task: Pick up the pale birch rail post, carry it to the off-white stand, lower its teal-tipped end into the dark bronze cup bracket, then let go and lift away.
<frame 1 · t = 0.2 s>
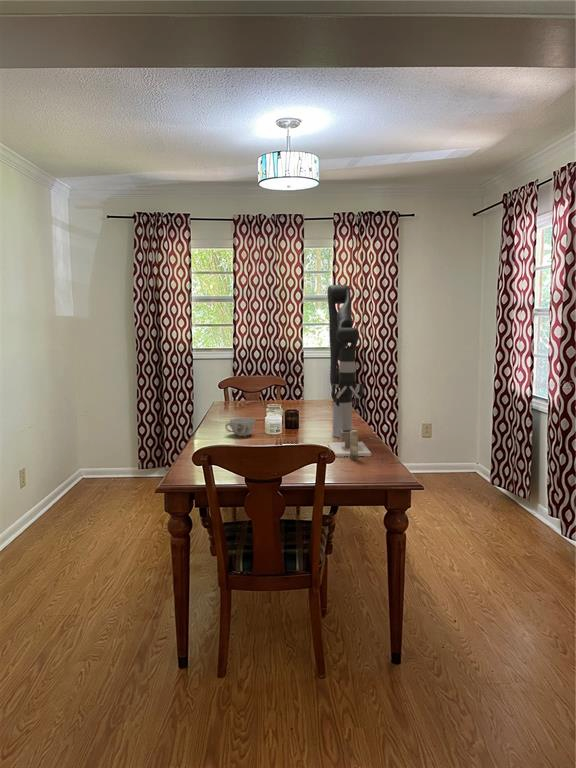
hand: (347, 406, 270), 17 cm above the table, tool pointing down, fingers open, 8 cm apart
teacup: (240, 436, 288), on the table
cup bracket: (348, 450, 257), on the table
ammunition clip: (286, 467, 233), on the table
rail post: (353, 459, 244), on the table
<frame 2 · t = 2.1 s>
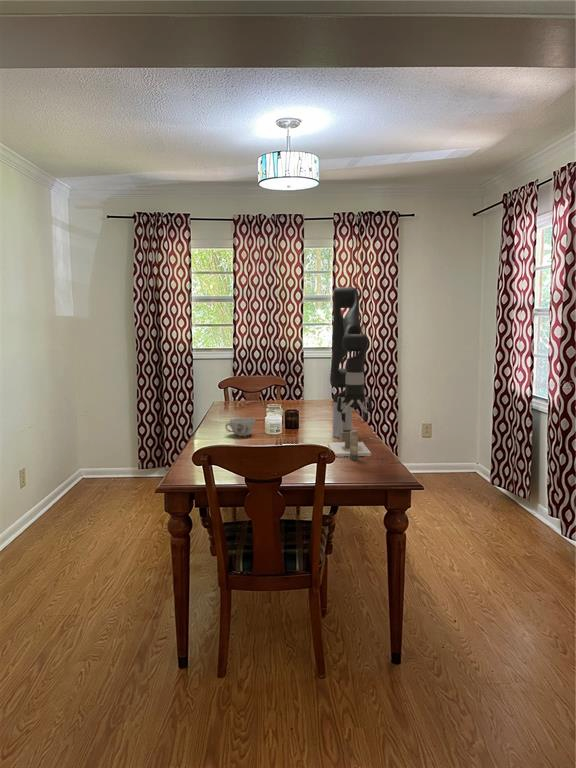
hand: (354, 421, 241), 16 cm above the table, tool pointing down, fingers open, 8 cm apart
nothing on the table moved.
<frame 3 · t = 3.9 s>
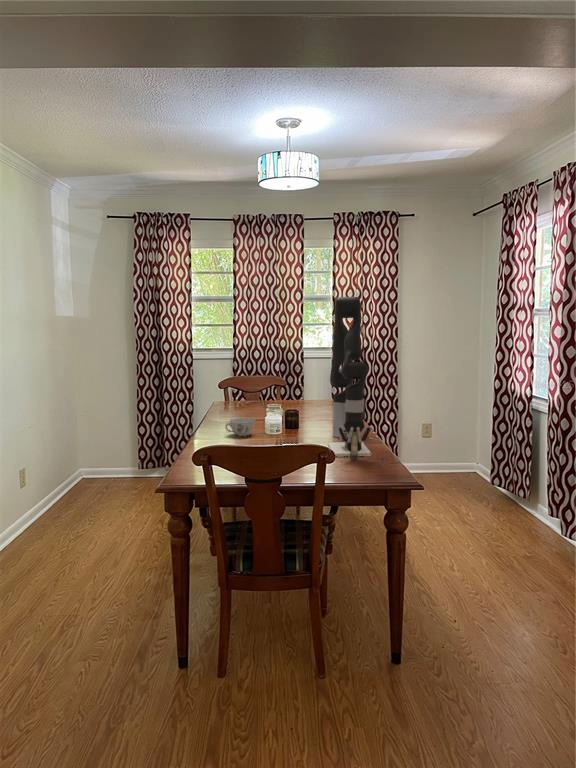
hand: (353, 450, 243), 4 cm above the table, tool pointing down, fingers closed on rail post, 3 cm apart
rail post: (353, 459, 244), on the table, touching gripper
everything else where it was.
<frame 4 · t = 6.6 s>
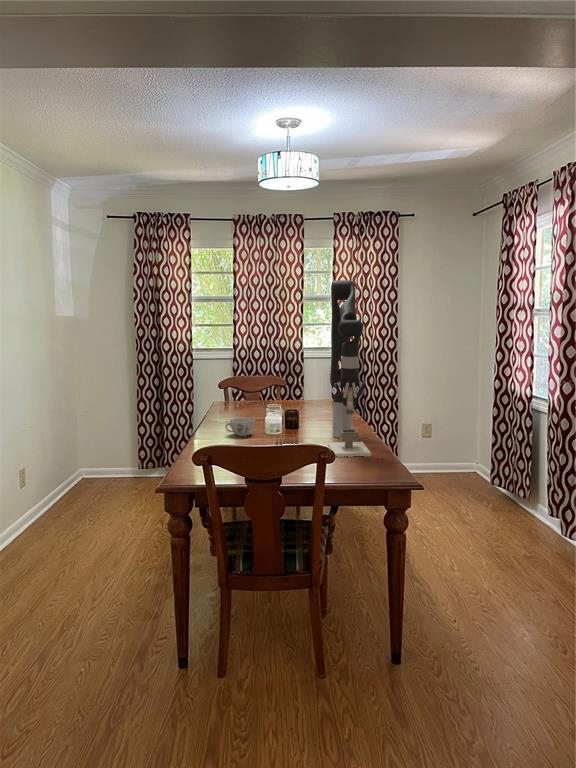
hand: (349, 405, 254), 20 cm above the table, tool pointing down, fingers closed on rail post, 3 cm apart
rail post: (349, 413, 254), point 17 cm above the table, touching gripper
everything else where it was.
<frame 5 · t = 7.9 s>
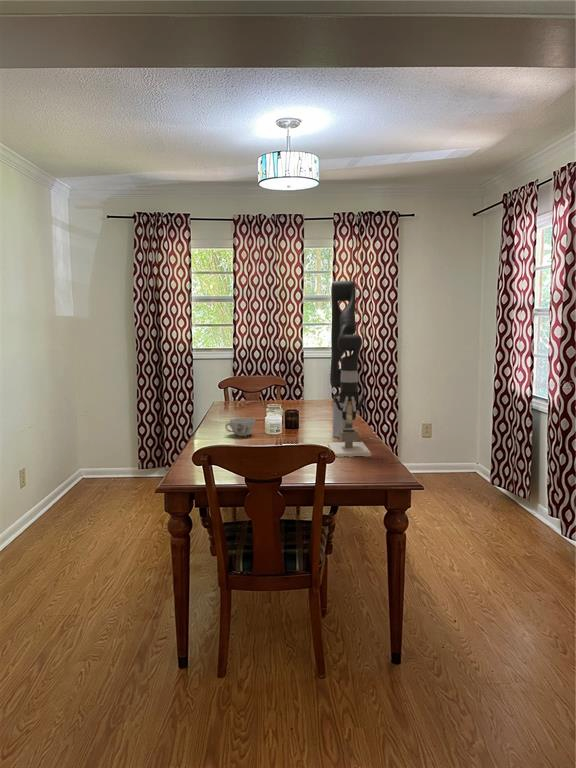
hand: (348, 419, 256), 14 cm above the table, tool pointing down, fingers closed on rail post, 3 cm apart
rail post: (348, 427, 256), point 10 cm above the table, touching gripper
everything else where it was.
when the fingers open (11 cm above the table, at t = 9.2 s): rail post stays where it is, resting on cup bracket.
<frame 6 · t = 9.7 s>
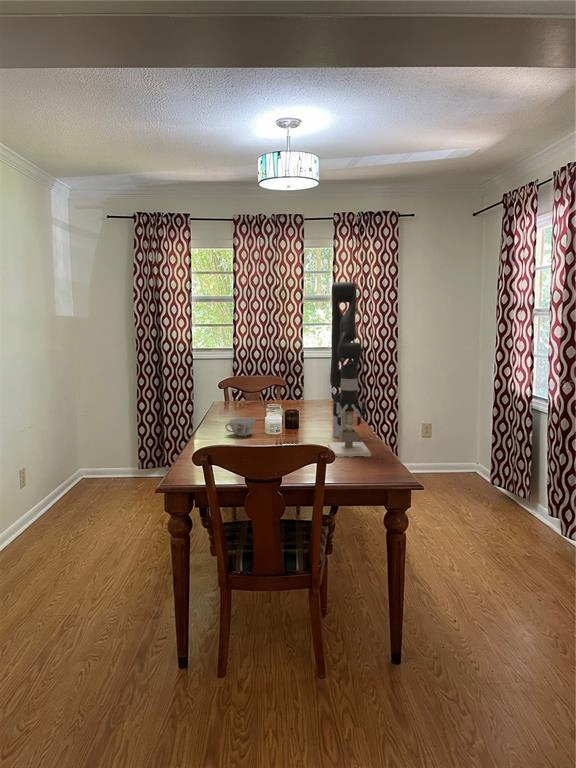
hand: (348, 425, 256), 11 cm above the table, tool pointing down, fingers open, 7 cm apart
rail post: (348, 437, 257), point 6 cm above the table, touching cup bracket
everything else where it was.
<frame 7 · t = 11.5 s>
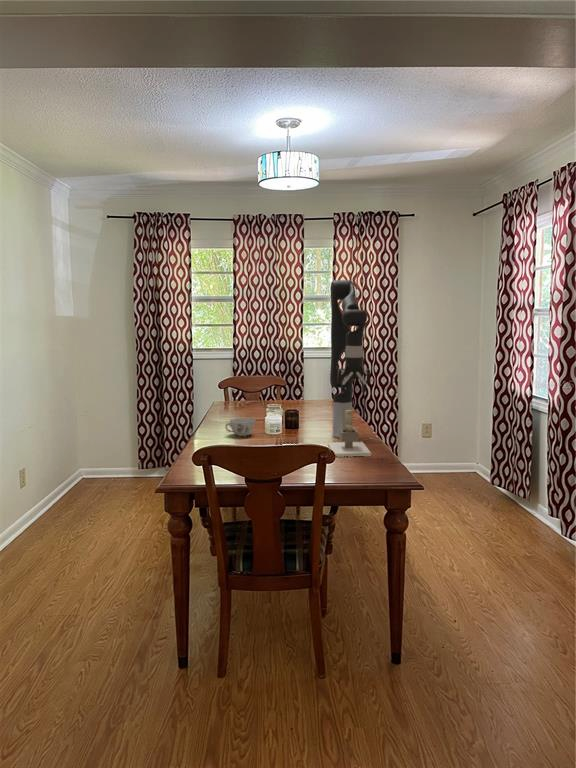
hand: (353, 392, 255), 26 cm above the table, tool pointing down, fingers open, 8 cm apart
nothing on the table moved.
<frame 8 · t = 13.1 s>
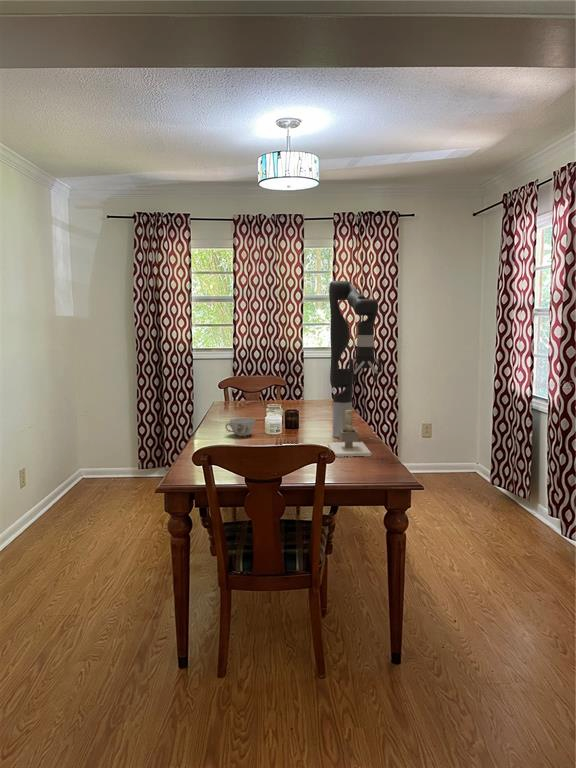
hand: (365, 382, 257), 30 cm above the table, tool pointing down, fingers open, 8 cm apart
nothing on the table moved.
at the end: rail post 0.0 cm off-centre on the cup bracket, point 6.0 cm above the cup bracket's base; rail post tilted 0°; the gripper is holding nothing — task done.
